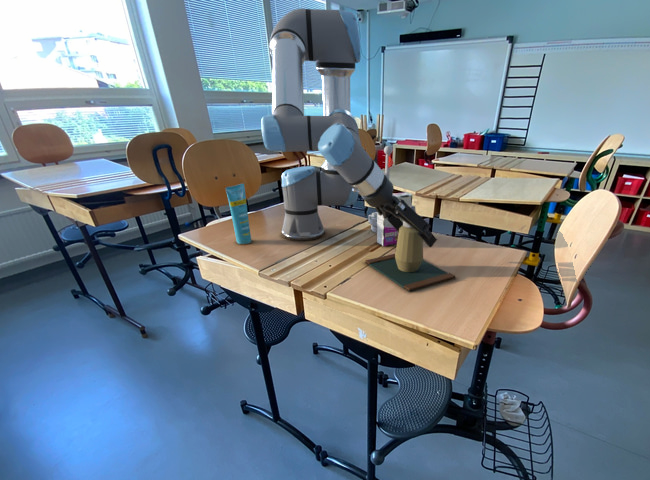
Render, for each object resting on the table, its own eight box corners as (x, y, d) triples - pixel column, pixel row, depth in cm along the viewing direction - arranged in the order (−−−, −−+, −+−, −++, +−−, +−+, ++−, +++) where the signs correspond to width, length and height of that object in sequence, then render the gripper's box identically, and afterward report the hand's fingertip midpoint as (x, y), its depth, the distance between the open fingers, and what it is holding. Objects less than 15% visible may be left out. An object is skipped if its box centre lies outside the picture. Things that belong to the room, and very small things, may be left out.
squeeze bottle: (404, 261, 103) (408, 201, 94) (427, 268, 98) (433, 205, 89) (388, 269, 97) (391, 206, 88) (412, 277, 93) (417, 211, 84)
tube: (242, 246, 114) (232, 187, 105) (231, 244, 116) (220, 186, 106) (257, 239, 120) (248, 183, 111) (246, 237, 122) (236, 182, 112)
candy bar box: (402, 238, 123) (405, 191, 115) (410, 242, 119) (413, 194, 111) (375, 242, 119) (376, 194, 111) (383, 247, 115) (384, 197, 107)
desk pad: (365, 263, 103) (365, 260, 102) (407, 253, 110) (407, 250, 109) (409, 292, 86) (409, 289, 86) (455, 278, 93) (455, 275, 93)
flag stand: (363, 226, 135) (364, 144, 121) (393, 223, 140) (397, 143, 125) (375, 236, 125) (377, 147, 110) (407, 232, 129) (413, 146, 114)
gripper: (338, 188, 89) (384, 234, 104) (392, 209, 71) (438, 261, 85) (356, 165, 89) (399, 214, 103) (414, 180, 71) (457, 238, 85)
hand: (417, 236), depth 94 cm, fingers open, 13 cm apart
